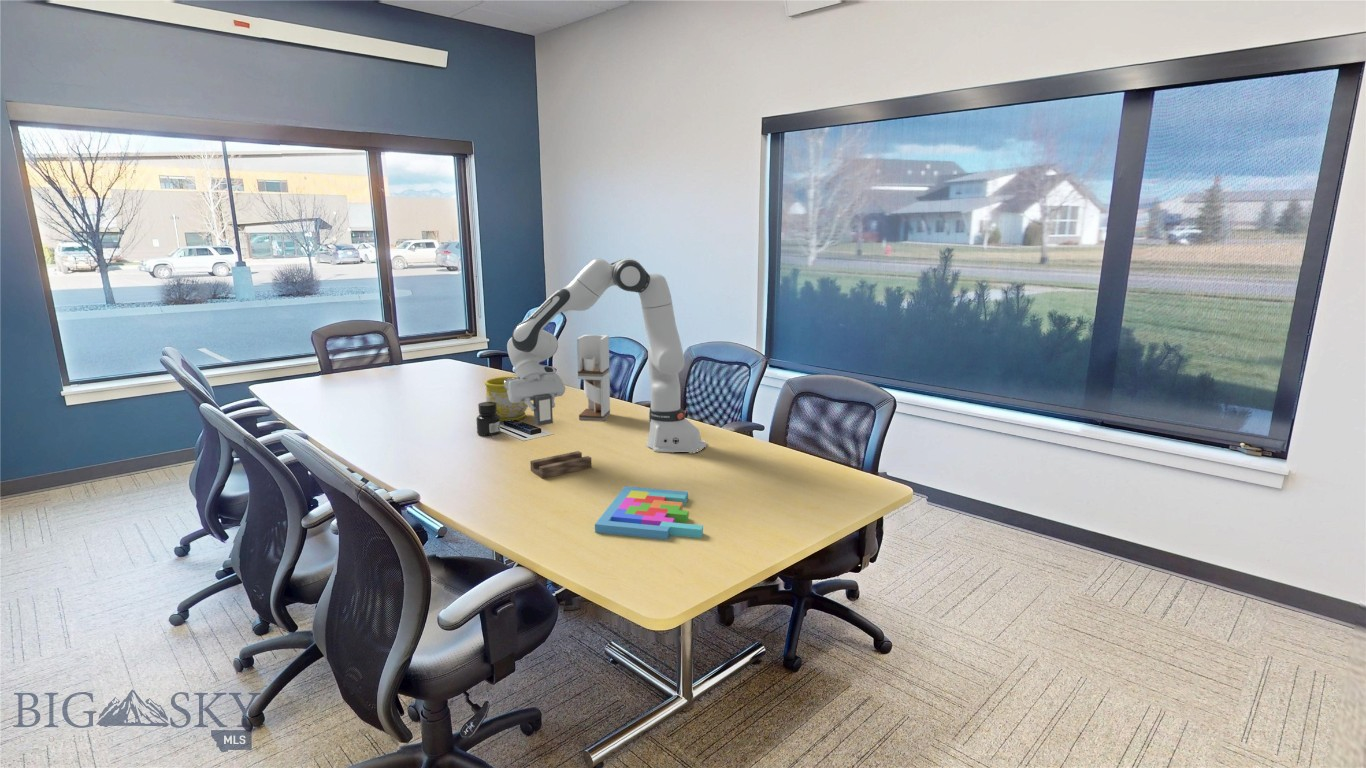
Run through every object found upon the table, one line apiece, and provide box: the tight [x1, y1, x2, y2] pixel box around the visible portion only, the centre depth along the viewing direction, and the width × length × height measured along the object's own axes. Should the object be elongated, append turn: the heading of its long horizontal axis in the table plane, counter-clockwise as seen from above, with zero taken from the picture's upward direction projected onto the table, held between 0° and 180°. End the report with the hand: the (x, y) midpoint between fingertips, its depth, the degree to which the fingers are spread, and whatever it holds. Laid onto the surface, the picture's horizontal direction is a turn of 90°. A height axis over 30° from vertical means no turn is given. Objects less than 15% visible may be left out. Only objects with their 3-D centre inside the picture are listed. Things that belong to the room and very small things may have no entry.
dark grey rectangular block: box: [532, 394, 554, 427], centre depth 228 cm, size 3×6×10 cm, turn 127°
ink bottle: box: [476, 401, 501, 437], centre depth 260 cm, size 10×9×12 cm
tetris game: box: [594, 486, 704, 540], centre depth 185 cm, size 28×3×28 cm
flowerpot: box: [484, 376, 529, 423], centre depth 282 cm, size 18×18×16 cm
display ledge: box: [529, 450, 593, 480], centre depth 221 cm, size 18×9×4 cm, turn 127°
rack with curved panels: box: [576, 334, 611, 422], centre depth 282 cm, size 11×11×35 cm
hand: (543, 408), depth 227 cm, fingers closed on dark grey rectangular block, 5 cm apart
